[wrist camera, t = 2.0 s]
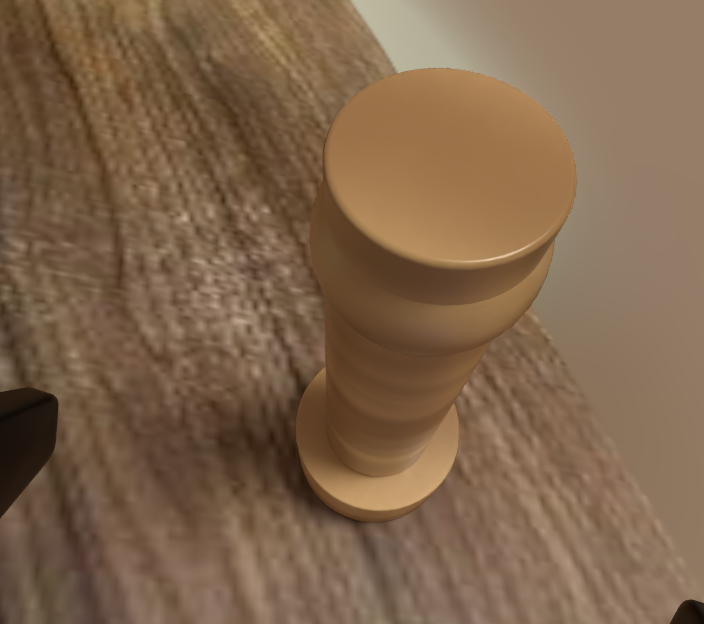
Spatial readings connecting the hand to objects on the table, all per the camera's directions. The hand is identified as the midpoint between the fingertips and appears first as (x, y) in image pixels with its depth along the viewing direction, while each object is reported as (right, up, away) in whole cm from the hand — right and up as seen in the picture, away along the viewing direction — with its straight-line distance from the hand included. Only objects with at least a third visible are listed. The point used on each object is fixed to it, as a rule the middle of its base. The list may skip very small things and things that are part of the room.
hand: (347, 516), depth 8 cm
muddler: (+1, -2, +11) cm, 11 cm away
